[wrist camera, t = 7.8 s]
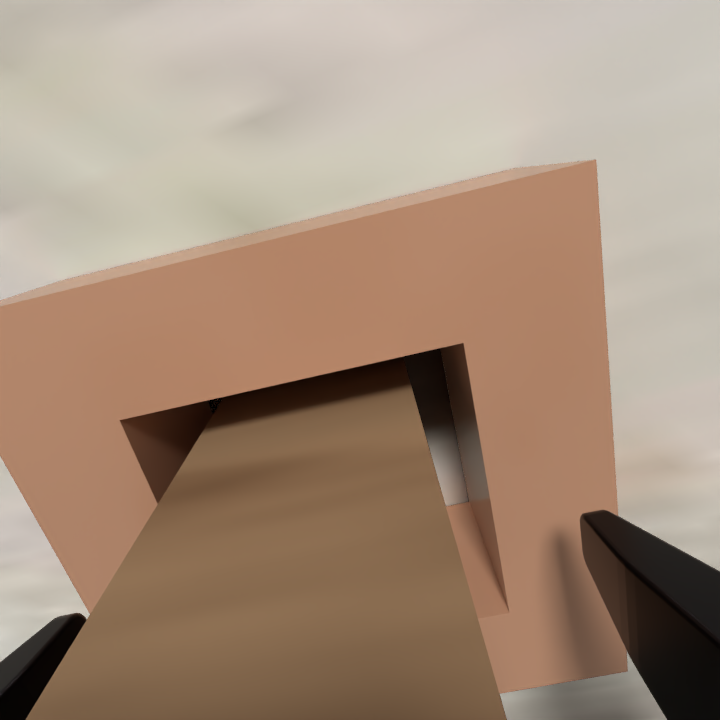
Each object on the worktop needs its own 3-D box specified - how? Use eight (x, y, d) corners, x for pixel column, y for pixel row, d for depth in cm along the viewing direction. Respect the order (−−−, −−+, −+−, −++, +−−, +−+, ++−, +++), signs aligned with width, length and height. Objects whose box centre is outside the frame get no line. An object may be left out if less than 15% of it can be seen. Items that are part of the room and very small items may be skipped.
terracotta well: (559, 550, 15) (627, 671, 11) (211, 617, 16) (167, 751, 12) (515, 167, 11) (596, 159, 8) (59, 280, 12) (-74, 324, 8)
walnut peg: (428, 482, 14) (572, 1055, 5) (282, 511, 15) (150, 1106, 5) (398, 341, 13) (523, 779, 3) (235, 377, 13) (-69, 871, 4)
